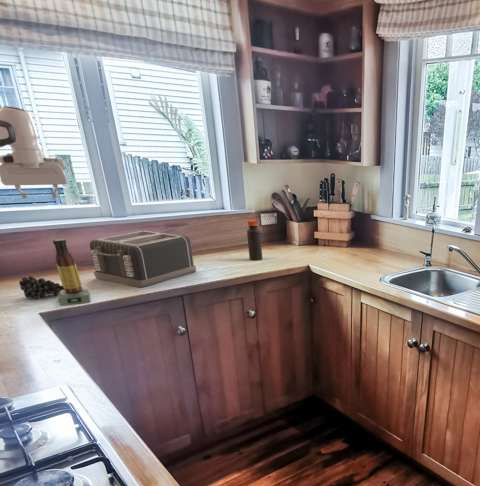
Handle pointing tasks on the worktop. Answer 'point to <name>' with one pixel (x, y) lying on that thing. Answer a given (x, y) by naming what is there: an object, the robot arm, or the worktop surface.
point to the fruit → (39, 287)
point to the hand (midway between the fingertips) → (40, 197)
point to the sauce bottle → (66, 267)
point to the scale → (75, 299)
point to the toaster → (142, 258)
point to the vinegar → (254, 241)
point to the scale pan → (64, 293)
